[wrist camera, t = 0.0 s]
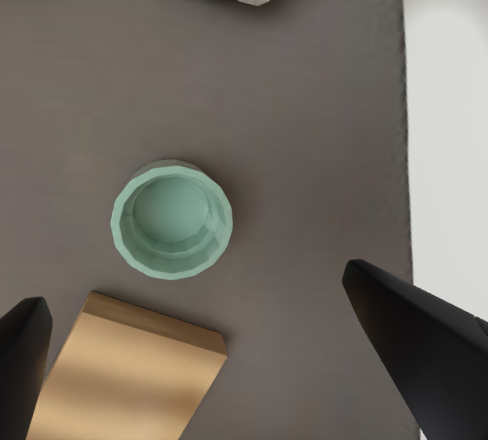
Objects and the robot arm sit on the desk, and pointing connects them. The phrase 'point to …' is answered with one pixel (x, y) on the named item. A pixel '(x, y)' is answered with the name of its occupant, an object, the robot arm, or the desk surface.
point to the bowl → (171, 220)
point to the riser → (126, 375)
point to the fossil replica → (254, 2)
